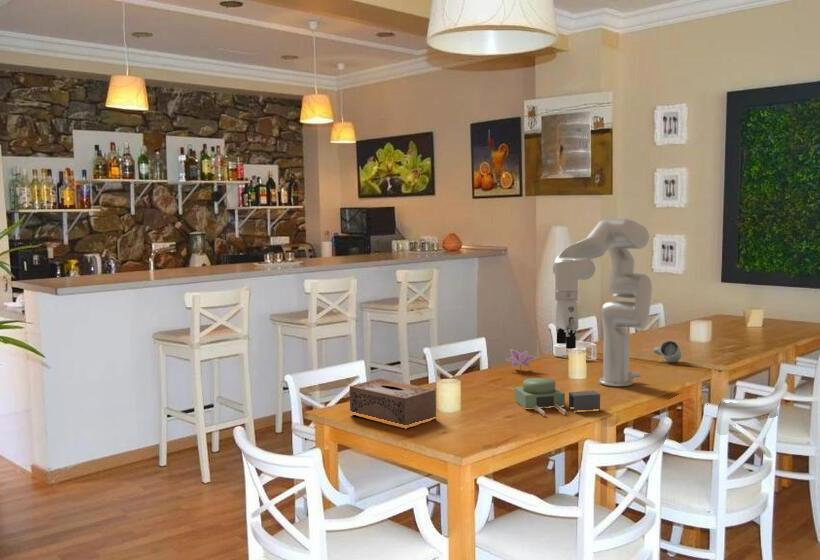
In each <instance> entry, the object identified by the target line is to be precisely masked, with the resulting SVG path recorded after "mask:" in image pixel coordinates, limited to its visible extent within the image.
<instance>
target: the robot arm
mask: <svg viewBox="0 0 820 560" xmlns="http://www.w3.org/2000/svg"><path fill="white" fill-rule="evenodd" d="M649 239H650V234H649V231H648V229H647V228H646V226H644V225H643V224H641V223H638V222H636V221H634V220H632V219H628V218H605V219H602V220H600V221H598V223H597V224H596V225H595V226H594V227H593V229H592V230H591V231H590V232H589V233H588V235H586V238H583V239H582V240H579V241H577V242H575V243H572V244H570V245H568V246H567V247H565V248H564V249H563V250H561V252H559V254H558V255H557V257H556V258H555V260H554V262H553V264H552V271H553V272H552V273H553V274H554V281H555V282H554V283H555V284H554V301H556V310H555V323H556V325H555V326H556V340H557V343H558V344H564V343H566V350H568V349H571V350H573V349H574V348H577V347H576V341H577V339H576V338H577V331H578V329H579V310H578V308H579V307H578V301H579V300H578V299H579V298H578V296H579V295H578V294H579V292H578V291H579V290H578V289H579V285H578V284H579V282H578V281H579V280H580V281H581V280H582V281H584V280H585V281H586V280H589V279H591V278H592V277H593V276H594V275H595V272H596V265H595V262H594V261H593V260H594V259H597V258H601V257H602V256H604V255H605V254H606V252H607V251H608V253H609V256H610V271H609V278H608V279H609V280H608V292H609V294H610V295H611V296H612V297H614V298H621V299H631V300H632V299H633V300H634V301H623V300H609V301H606V302H605V303H604V304H603V305H602V306H601V310H600V315H601V316H600V317H601V321H602V329H603V357H602V358H603V366H602V367H603V369H602V371H603V372H602V373H603V375H602V377H600V378H598V379H599V380H598V382H599V384H602V385H603V386H607V387H609V386H610V387H628V386H632V385H633V384H634V380H633V379H634V378H636V379H637V378H638V379H639V378H642V372H635V371H631V370H630V335H629V333H628V331H627V329H626V328H635V329H643V328H644V327H646V326H647V324H648V322H649V318H650V317H649V316H650V311H651V301H652V292H653V290H652V289H653V286H652V280H651V278H650V277H649V276H648V275H647V274H645V273H635V272H634V270H635V258H634V257H633V254H632V253H631V251H629V249H630V250H631V249H635V250H640V249H641V250H642V249H644V248H645V247H646V246H647V245H648V243H649Z"/></svg>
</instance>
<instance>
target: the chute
mask: <svg viewBox="0 0 820 560" xmlns="http://www.w3.org/2000/svg"><path fill="white" fill-rule="evenodd" d="M569 407H574V410H573V412H574V411H577V410H593V409H600V410H601V394H600V393H599V392H598V391H596V390H585V391H584V390H583V391H568V408H569Z"/></svg>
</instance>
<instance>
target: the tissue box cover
mask: <svg viewBox="0 0 820 560" xmlns="http://www.w3.org/2000/svg"><path fill="white" fill-rule="evenodd" d="M436 397H437V393H436V389H434V388H429V387H424V386H420V385H414V384H410V383H404V382H400V381H395V380H390V379H386V378H381V377H380V378H376V379H372V380H369V381H364V382H360V383H357V384H352V385H349V407H350V408H349V412H350V411H352V412H356V413H359V414H364V415H368V416H372V417H376V418H379V419H384V420H387V421H391V422H395V423H399V424H403V425H409V424H412V423H415V422H419V421H423V420H426V419H430V418H433V417H436V418H437V402H436V401H437V398H436Z"/></svg>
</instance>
